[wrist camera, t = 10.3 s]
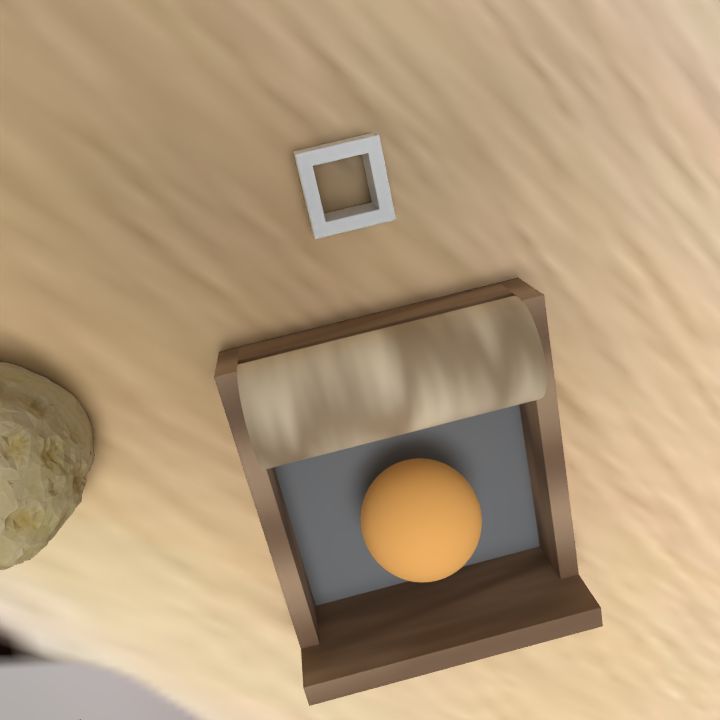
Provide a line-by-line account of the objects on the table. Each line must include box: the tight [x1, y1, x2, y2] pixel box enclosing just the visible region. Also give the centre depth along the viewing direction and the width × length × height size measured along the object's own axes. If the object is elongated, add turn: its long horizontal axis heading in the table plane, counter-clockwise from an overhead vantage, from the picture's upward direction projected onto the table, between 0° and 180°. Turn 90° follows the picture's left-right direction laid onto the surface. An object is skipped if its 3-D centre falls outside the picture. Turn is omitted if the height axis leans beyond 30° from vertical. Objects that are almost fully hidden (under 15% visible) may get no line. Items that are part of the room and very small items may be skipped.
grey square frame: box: [293, 133, 396, 239], centre depth 31 cm, size 4×4×2 cm
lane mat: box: [274, 405, 540, 606], centre depth 37 cm, size 17×15×1 cm
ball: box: [360, 458, 482, 582], centre depth 34 cm, size 6×6×6 cm
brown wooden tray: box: [214, 278, 603, 706], centre depth 34 cm, size 17×15×6 cm
